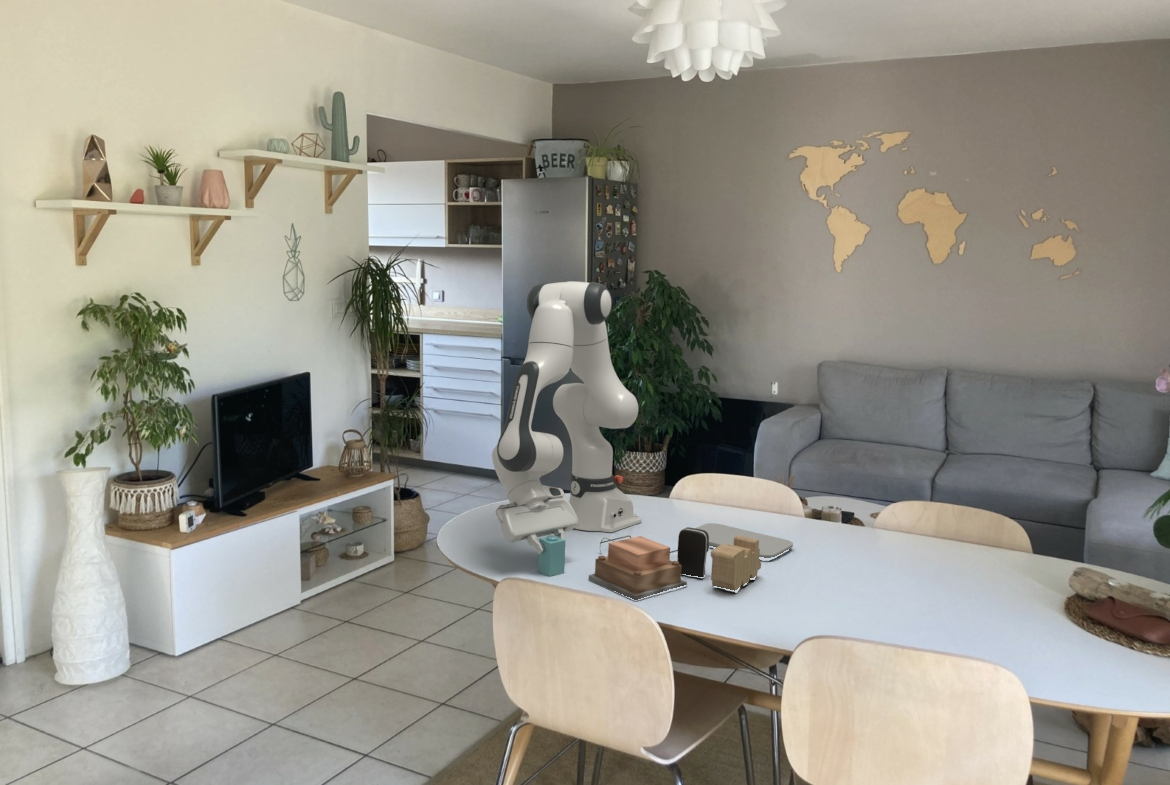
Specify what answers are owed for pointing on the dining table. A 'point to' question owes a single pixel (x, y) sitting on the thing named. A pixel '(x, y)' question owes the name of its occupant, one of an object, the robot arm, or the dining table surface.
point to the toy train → (735, 563)
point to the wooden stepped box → (637, 568)
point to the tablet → (766, 543)
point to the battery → (693, 551)
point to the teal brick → (552, 556)
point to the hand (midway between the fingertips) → (552, 550)
